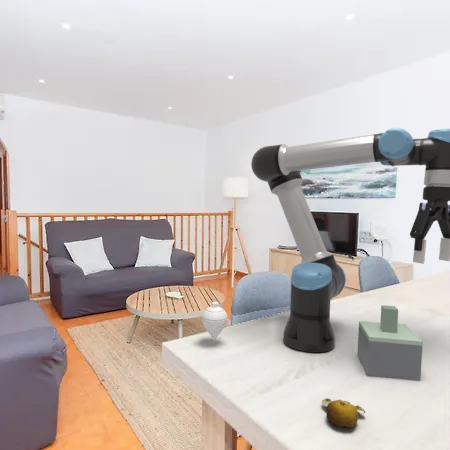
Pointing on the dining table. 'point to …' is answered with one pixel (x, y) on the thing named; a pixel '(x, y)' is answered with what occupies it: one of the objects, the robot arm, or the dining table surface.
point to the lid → (389, 329)
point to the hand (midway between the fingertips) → (431, 261)
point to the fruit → (341, 412)
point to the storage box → (389, 359)
